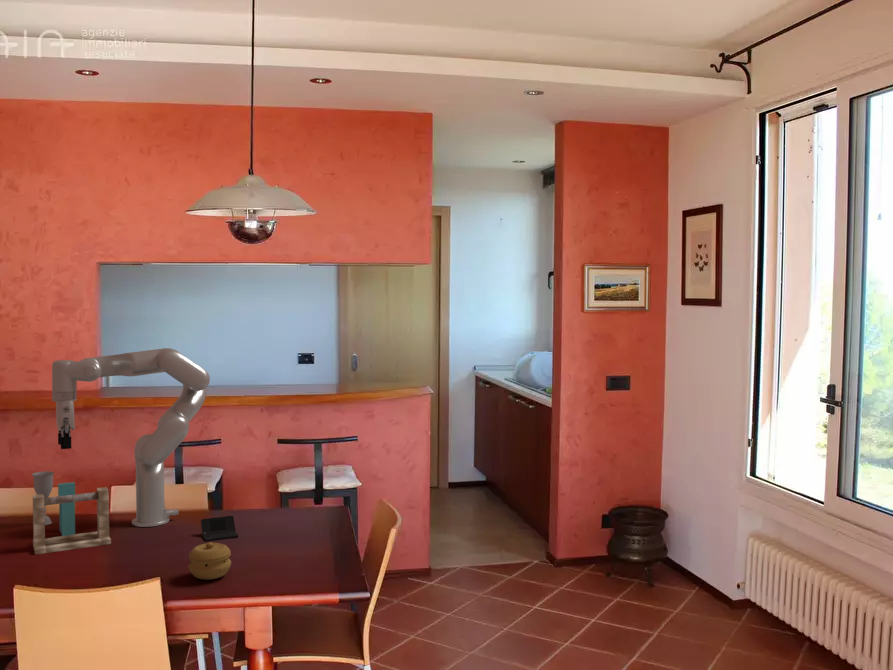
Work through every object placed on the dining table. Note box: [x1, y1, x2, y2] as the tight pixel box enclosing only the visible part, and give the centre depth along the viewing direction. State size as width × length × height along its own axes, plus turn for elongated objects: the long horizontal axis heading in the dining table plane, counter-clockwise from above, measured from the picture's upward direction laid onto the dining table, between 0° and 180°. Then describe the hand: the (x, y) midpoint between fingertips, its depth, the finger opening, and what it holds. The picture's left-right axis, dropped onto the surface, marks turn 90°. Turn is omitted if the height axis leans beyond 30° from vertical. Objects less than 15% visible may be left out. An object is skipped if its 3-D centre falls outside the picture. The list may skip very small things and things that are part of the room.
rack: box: [32, 486, 112, 556], centre depth 259 cm, size 22×12×17 cm, turn 121°
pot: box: [188, 541, 232, 581], centre depth 228 cm, size 12×12×10 cm
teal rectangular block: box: [57, 481, 76, 536], centre depth 272 cm, size 5×9×17 cm, turn 31°
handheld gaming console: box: [200, 515, 239, 543], centre depth 269 cm, size 12×7×10 cm
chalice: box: [31, 470, 55, 526], centre depth 283 cm, size 7×7×18 cm
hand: (64, 446), depth 271 cm, fingers open, 9 cm apart
